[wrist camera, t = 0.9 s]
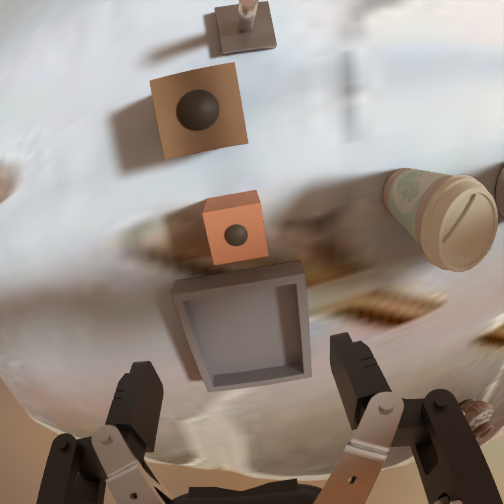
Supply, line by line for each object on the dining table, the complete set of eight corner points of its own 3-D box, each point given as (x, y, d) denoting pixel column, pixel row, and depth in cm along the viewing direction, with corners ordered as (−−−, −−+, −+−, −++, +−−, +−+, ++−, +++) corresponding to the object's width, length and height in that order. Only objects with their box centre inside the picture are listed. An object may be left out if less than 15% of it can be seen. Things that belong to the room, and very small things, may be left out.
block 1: (234, 74, 25) (234, 62, 19) (245, 138, 28) (248, 143, 22) (167, 88, 25) (149, 80, 19) (179, 151, 28) (164, 160, 22)
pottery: (437, 389, 48) (462, 431, 37) (488, 389, 53) (509, 420, 42) (404, 423, 52) (423, 464, 41) (461, 418, 57) (478, 449, 46)
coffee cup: (423, 146, 28) (497, 167, 18) (438, 212, 32) (502, 253, 21) (362, 171, 29) (425, 202, 19) (381, 239, 33) (437, 294, 22)
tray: (299, 260, 33) (305, 273, 31) (307, 361, 40) (311, 376, 37) (175, 280, 34) (171, 295, 31) (208, 376, 40) (207, 392, 37)
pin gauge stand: (266, 5, 22) (279, -36, 13) (275, 48, 24) (292, 19, 16) (215, 11, 22) (207, -28, 14) (222, 54, 24) (217, 27, 16)
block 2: (256, 189, 30) (260, 203, 25) (263, 235, 32) (268, 256, 27) (206, 198, 30) (201, 213, 25) (216, 243, 32) (213, 265, 27)
